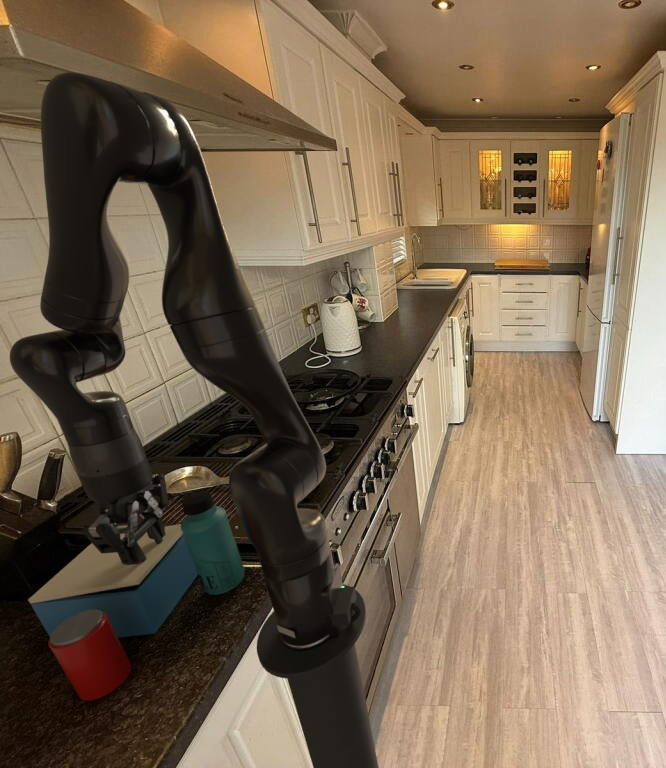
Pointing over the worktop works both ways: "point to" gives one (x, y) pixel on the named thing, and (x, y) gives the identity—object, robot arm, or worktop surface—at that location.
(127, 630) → the cool box
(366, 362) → the worktop surface
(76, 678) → the can
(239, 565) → the beverage bottle
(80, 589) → the lid
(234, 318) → the robot arm
